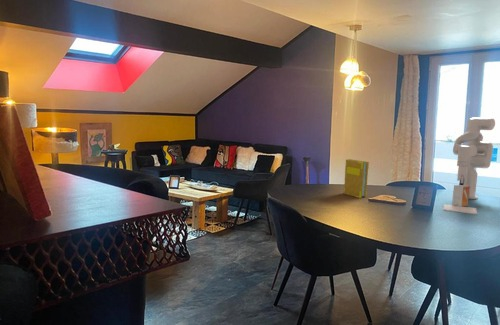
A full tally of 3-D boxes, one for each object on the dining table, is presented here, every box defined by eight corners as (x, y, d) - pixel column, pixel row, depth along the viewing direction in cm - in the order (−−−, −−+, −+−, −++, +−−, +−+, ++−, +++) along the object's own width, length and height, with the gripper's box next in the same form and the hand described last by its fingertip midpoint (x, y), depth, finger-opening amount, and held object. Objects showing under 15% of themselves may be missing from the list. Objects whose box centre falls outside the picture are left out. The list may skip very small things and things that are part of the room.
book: (366, 196, 271) (368, 161, 268) (360, 197, 267) (362, 162, 264) (348, 192, 285) (350, 159, 281) (341, 193, 281) (343, 159, 278)
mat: (444, 205, 251) (444, 204, 251) (476, 209, 243) (476, 208, 243) (443, 210, 237) (443, 209, 237) (477, 214, 229) (477, 213, 229)
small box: (461, 206, 245) (463, 186, 245) (451, 204, 251) (453, 185, 250) (468, 205, 250) (470, 186, 249) (458, 204, 255) (460, 184, 254)
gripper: (457, 162, 264) (454, 188, 266) (457, 164, 251) (454, 192, 253) (469, 163, 260) (467, 190, 263) (470, 165, 247) (467, 193, 249)
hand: (460, 191), depth 258 cm, fingers closed
